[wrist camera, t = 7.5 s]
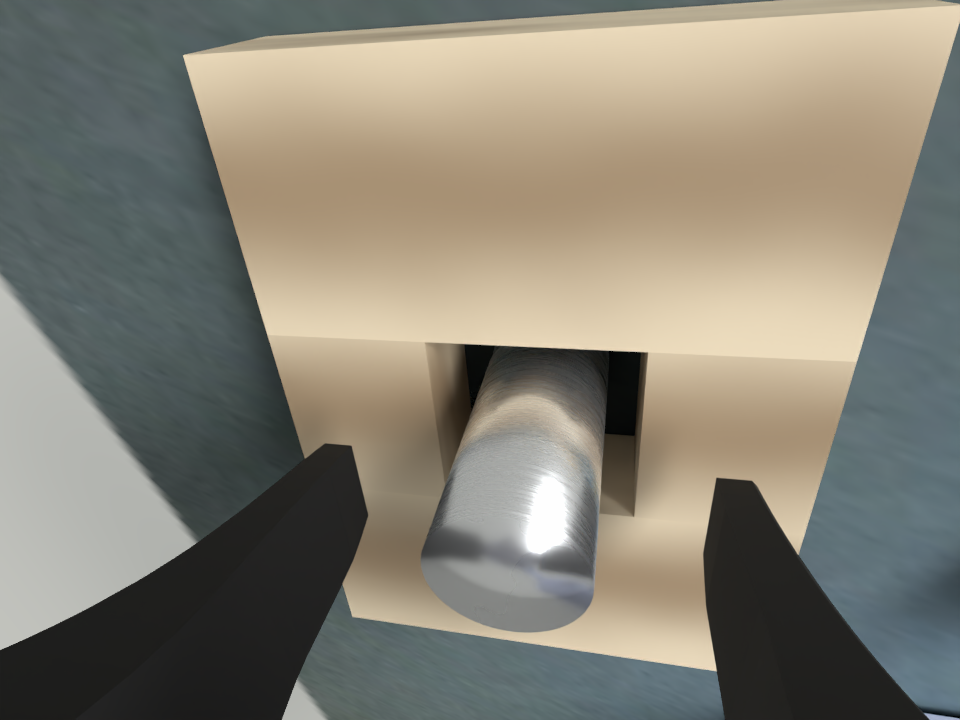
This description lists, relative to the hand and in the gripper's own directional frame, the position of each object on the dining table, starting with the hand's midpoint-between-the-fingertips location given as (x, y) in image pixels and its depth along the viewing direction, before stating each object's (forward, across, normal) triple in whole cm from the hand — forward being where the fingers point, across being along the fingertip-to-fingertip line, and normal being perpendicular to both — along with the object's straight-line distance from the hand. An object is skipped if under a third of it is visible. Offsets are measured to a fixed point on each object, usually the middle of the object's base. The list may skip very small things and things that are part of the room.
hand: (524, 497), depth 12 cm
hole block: (+5, 0, 0) cm, 5 cm away
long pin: (+5, 0, 0) cm, 5 cm away
